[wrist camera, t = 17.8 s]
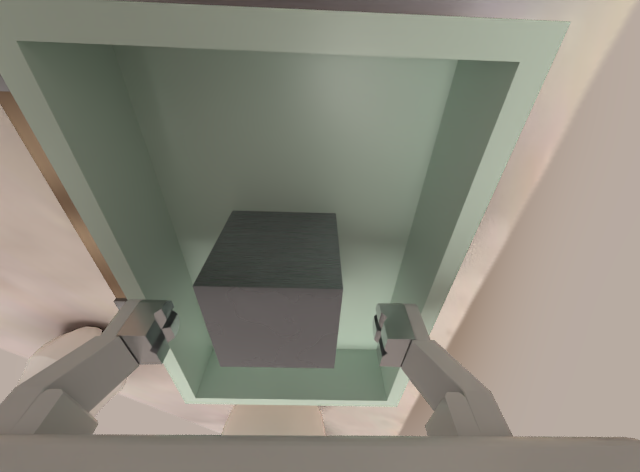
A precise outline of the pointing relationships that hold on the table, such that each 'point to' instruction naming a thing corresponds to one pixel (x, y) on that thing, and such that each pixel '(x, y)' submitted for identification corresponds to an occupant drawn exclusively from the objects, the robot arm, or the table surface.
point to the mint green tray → (276, 153)
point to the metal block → (273, 290)
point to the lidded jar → (274, 420)
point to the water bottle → (60, 349)
